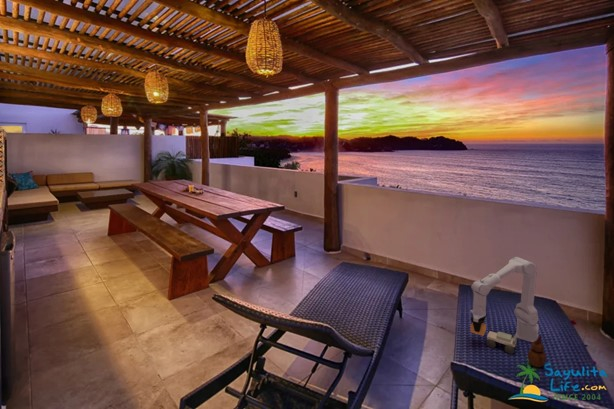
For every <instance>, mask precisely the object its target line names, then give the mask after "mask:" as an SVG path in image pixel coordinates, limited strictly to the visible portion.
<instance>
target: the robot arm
mask: <svg viewBox="0 0 614 409" xmlns="http://www.w3.org/2000/svg"><path fill="white" fill-rule="evenodd" d="M513 273H515V274H516V273H517V274H522V275H523V278H522V288H521V295H520V302H519V303H516V305H515V306H516V307H515V309H514V310H513V311H514V312H513V313H514V316H516V319H517V323H516V332H515V334H514V335H516V336H517V339H520V340H523V341H526V342H530V343H532V342H534V341H536V340H537V339H538V336H539V337H540V335H539V326H540V325H539V324H538V321H539V316H538V314H539V313H538V310H537V309H536V307H535V306H534V304H535V303H534V302H535V294H536V293H535V292H536V284H537V265H536V264H535V263H534V262H532V261H529V260H526V259H524V258H521V257H519V256H514V257H512V258H511V259H509V260H508V264H506V265H505V266H504V267H502V268H501V269H500V270H497V272H495V273H494V272H493V273H489V274H488V275H487V276H485V277H484V278H482V279H481V280H476V281H474V282H472V285H471V286H470V288H471V290H472V294H473V299H472V300H473V301H472V302H473V303H472V309H470V311H469V312H470V313H471V314H472V316H471V318H470V321H471V324H472V323H473V326H474V330H475V331H476V332H479V331H480V328H481V325H482V323H484V324H485V319H486V317H487V316H488V314H487V312H486V311H487V310H486V309H487V296H488V295H489V293H490V291H491V290H492V288H494V287H495V286H498V285H499V284H500V283H501V280H502V279H504V278H507V277H508V276H510V275H511V274H513Z"/></svg>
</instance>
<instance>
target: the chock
mask: <svg viewBox="0 0 614 409" xmlns="http://www.w3.org/2000/svg"><path fill="white" fill-rule="evenodd" d="M486 331H487V323H485V322H484V323H482V325H481V328H480V331H479V332H476V331H475V330H474V326H473V323H472V322H471V324H470V333H472V334H476V335H479V336H483V337H484V335H485V333H486Z"/></svg>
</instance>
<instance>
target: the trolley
mask: <svg viewBox="0 0 614 409" xmlns="http://www.w3.org/2000/svg"><path fill="white" fill-rule="evenodd" d="M486 339H487V341H486V344H485V345H486V346H487V347H489V348H490V349H495V347H497V346H496V345H497V344H496V342H497V343H500V344H503V345H505V346H504V352H505V353H506V354H508V355H513V354H514V353H515V347H517V340H518V338H517V336H516V335H515V334H514V335H513V334H510V333H506V332H503V331H497V332H494V331H491V330H489V332H488V334H487V335H486Z"/></svg>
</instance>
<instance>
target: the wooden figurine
mask: <svg viewBox="0 0 614 409" xmlns="http://www.w3.org/2000/svg"><path fill="white" fill-rule="evenodd" d="M530 345H531V346H530V347H531V348H530V349H529V350H528V351H527V360H528V362H529V364H530V365H531V366H532V367H535V368H542V367H543V366H545V364H546V360H547V355H546V353H545V346H544V344H543V343H542V334H540V335H539V336H538V339H537V340H536V341H534V342H531V344H530Z"/></svg>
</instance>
